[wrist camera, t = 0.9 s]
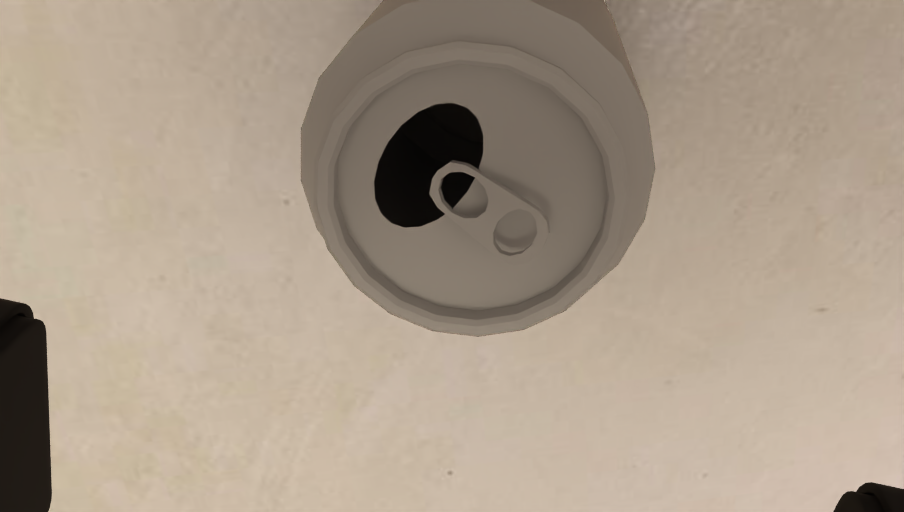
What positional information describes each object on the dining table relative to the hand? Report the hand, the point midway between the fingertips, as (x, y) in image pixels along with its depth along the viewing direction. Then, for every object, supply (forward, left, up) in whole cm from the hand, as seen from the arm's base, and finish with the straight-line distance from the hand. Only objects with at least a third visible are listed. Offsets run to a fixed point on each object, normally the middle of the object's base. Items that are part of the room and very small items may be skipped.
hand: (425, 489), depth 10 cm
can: (0, 0, -20) cm, 20 cm away
